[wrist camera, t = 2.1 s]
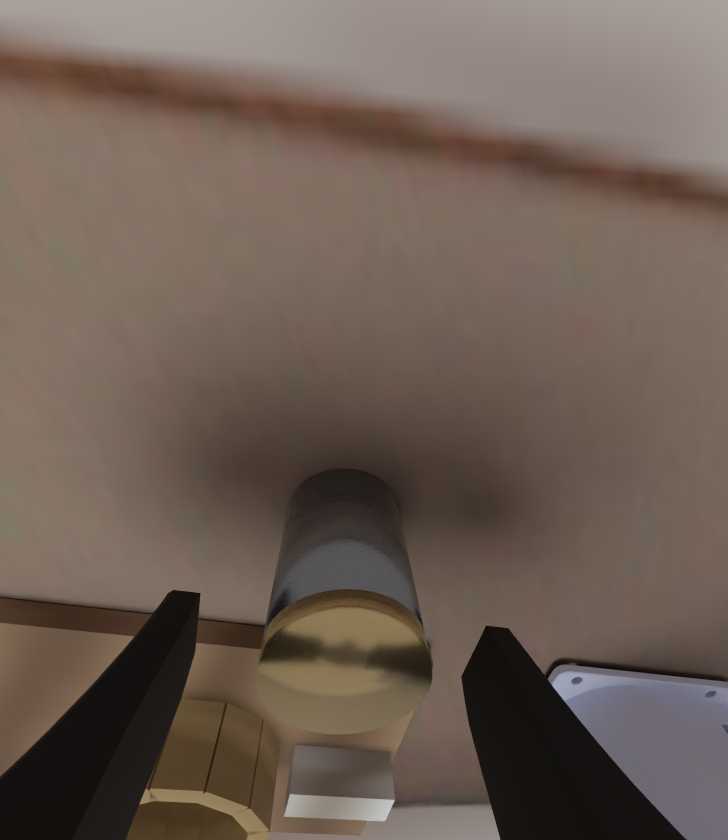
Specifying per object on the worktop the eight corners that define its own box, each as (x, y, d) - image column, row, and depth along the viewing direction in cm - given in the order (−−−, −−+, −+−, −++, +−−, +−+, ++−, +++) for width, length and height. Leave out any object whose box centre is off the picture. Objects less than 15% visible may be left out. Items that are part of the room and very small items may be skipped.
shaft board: (428, 644, 18) (451, 750, 14) (359, 811, 23) (362, 918, 20) (-31, 594, 15) (-146, 706, 12) (13, 794, 21) (-57, 913, 17)
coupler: (411, 478, 14) (454, 630, 9) (383, 565, 16) (406, 740, 10) (296, 459, 14) (267, 608, 8) (280, 551, 15) (246, 727, 10)
